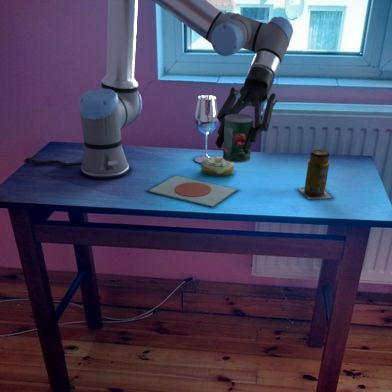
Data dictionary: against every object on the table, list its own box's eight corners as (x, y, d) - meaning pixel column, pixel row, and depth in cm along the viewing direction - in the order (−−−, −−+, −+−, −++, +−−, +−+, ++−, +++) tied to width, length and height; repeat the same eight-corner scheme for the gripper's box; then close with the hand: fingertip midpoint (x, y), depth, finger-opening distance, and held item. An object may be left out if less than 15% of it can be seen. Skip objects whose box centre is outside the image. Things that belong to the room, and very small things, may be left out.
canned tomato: (243, 164, 147) (246, 122, 141) (218, 160, 150) (219, 118, 143) (254, 156, 153) (257, 116, 146) (229, 152, 156) (231, 112, 149)
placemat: (148, 191, 159) (148, 189, 159) (175, 176, 169) (175, 174, 169) (212, 207, 150) (212, 205, 150) (236, 190, 161) (236, 188, 160)
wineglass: (203, 165, 178) (204, 101, 166) (189, 159, 183) (189, 96, 171) (221, 161, 182) (224, 97, 170) (207, 155, 187) (209, 93, 174)
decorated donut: (222, 180, 168) (222, 168, 165) (194, 173, 172) (194, 161, 170) (239, 170, 174) (240, 159, 172) (212, 164, 179) (212, 152, 177)
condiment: (321, 188, 163) (327, 147, 155) (331, 198, 156) (338, 157, 149) (298, 189, 162) (303, 149, 154) (308, 200, 155) (313, 158, 148)
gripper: (299, 87, 147) (268, 162, 146) (233, 78, 156) (204, 149, 155) (293, 69, 141) (262, 147, 139) (225, 60, 149) (194, 134, 148)
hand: (231, 148), depth 147 cm, fingers closed on canned tomato, 8 cm apart
